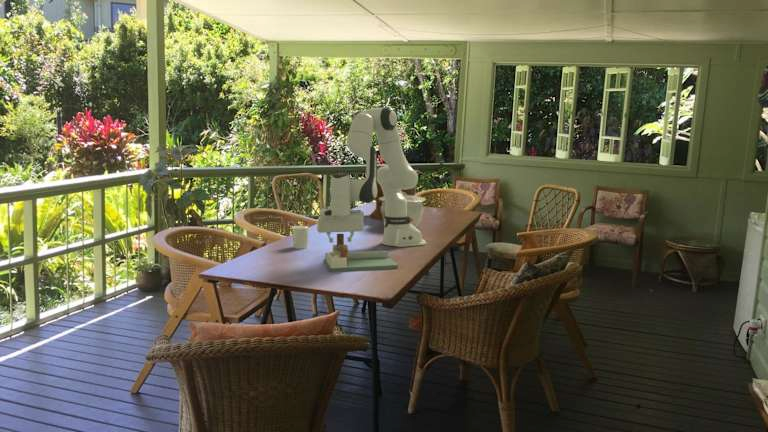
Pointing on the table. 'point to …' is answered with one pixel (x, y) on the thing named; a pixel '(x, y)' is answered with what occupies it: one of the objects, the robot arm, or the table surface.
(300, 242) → the white cup
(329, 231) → the robot arm
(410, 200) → the chamber pot
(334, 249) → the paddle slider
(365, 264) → the pitch
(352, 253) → the rail
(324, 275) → the table surface
